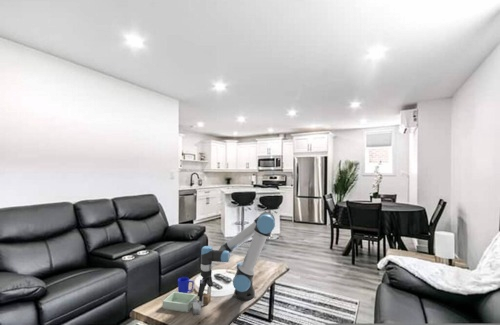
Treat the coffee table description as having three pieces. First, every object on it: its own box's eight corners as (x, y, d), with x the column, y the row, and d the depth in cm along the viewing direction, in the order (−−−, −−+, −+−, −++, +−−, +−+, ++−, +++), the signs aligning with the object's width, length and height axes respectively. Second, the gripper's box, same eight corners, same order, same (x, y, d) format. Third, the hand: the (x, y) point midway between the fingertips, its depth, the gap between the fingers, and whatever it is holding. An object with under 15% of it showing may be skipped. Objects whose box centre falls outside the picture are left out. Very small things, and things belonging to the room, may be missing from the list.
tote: (197, 302, 180) (197, 294, 181) (187, 312, 167) (187, 304, 167) (173, 298, 185) (173, 291, 185) (162, 308, 171) (162, 301, 171)
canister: (202, 311, 168) (202, 300, 168) (198, 315, 163) (198, 304, 164) (195, 310, 169) (195, 299, 170) (191, 314, 165) (191, 303, 165)
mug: (190, 296, 188) (191, 282, 189) (175, 294, 191) (175, 280, 191) (195, 291, 196) (195, 277, 197) (180, 289, 199) (180, 276, 199)
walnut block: (210, 301, 182) (210, 294, 182) (207, 304, 177) (207, 297, 177) (203, 300, 183) (204, 293, 183) (200, 303, 178) (201, 296, 178)
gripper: (208, 262, 194) (207, 291, 193) (193, 275, 170) (191, 308, 169) (217, 263, 192) (216, 293, 191) (203, 277, 168) (202, 310, 167)
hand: (205, 300), depth 180 cm, fingers open, 13 cm apart
